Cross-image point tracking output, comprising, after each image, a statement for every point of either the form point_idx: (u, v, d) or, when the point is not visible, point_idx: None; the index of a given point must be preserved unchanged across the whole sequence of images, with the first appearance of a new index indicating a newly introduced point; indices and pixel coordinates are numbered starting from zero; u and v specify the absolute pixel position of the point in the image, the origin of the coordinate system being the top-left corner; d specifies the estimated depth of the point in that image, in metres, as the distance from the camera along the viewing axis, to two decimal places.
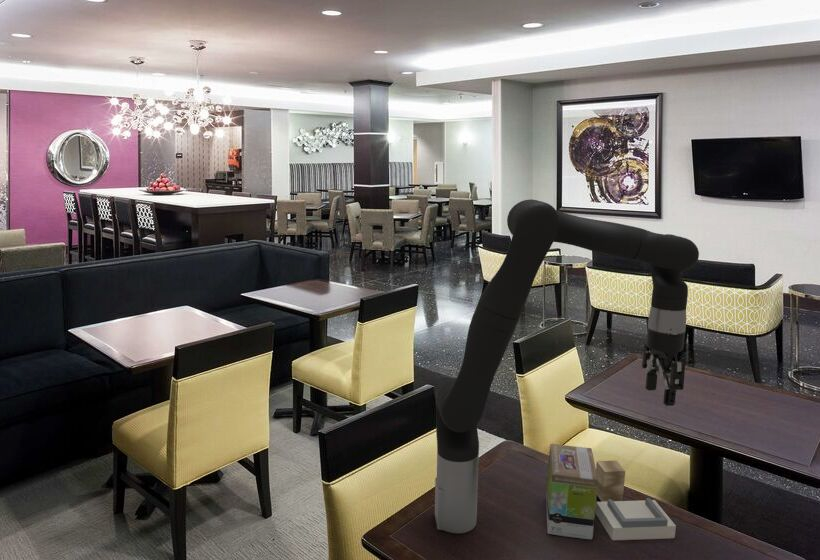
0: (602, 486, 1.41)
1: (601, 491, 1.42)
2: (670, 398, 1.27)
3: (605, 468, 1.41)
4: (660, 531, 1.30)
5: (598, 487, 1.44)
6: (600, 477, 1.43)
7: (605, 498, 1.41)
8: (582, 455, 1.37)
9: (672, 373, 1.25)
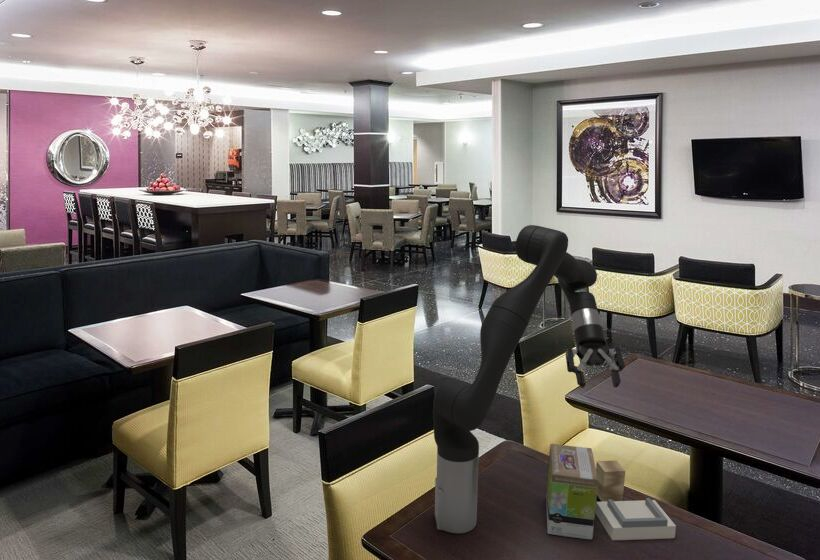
0: (602, 486, 1.41)
1: (601, 491, 1.42)
2: None
3: (605, 468, 1.41)
4: (660, 531, 1.30)
5: (598, 487, 1.44)
6: (600, 477, 1.43)
7: (605, 498, 1.41)
8: (582, 455, 1.37)
9: (619, 354, 1.54)
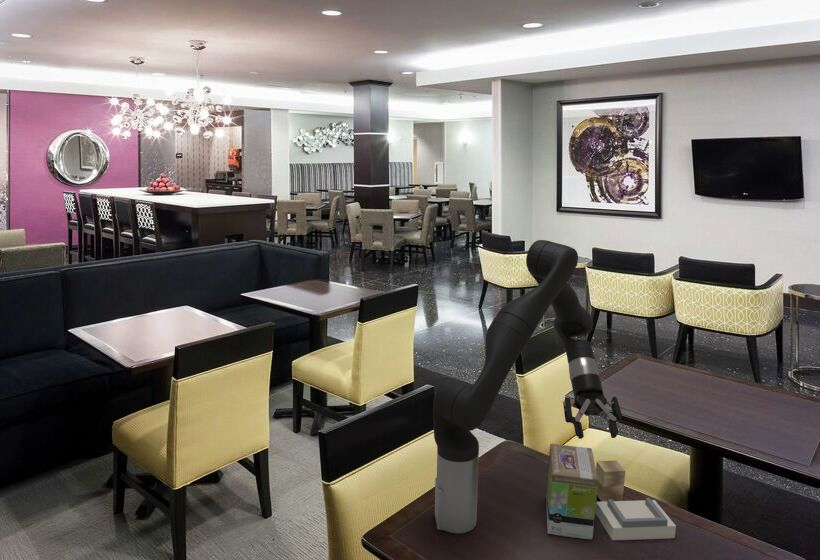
0: (602, 486, 1.41)
1: (601, 491, 1.42)
2: None
3: (605, 468, 1.41)
4: (660, 531, 1.30)
5: (598, 487, 1.44)
6: (600, 477, 1.43)
7: (605, 498, 1.41)
8: (582, 455, 1.37)
9: (617, 404, 1.54)
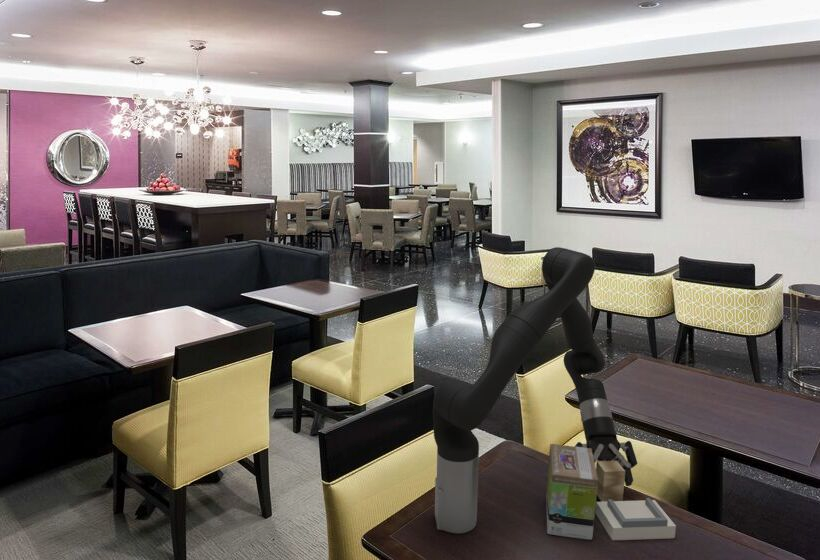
0: (602, 486, 1.41)
1: (601, 491, 1.42)
2: None
3: (605, 468, 1.41)
4: (660, 531, 1.30)
5: (598, 487, 1.44)
6: (600, 477, 1.43)
7: (605, 498, 1.41)
8: (582, 455, 1.37)
9: (631, 450, 1.46)
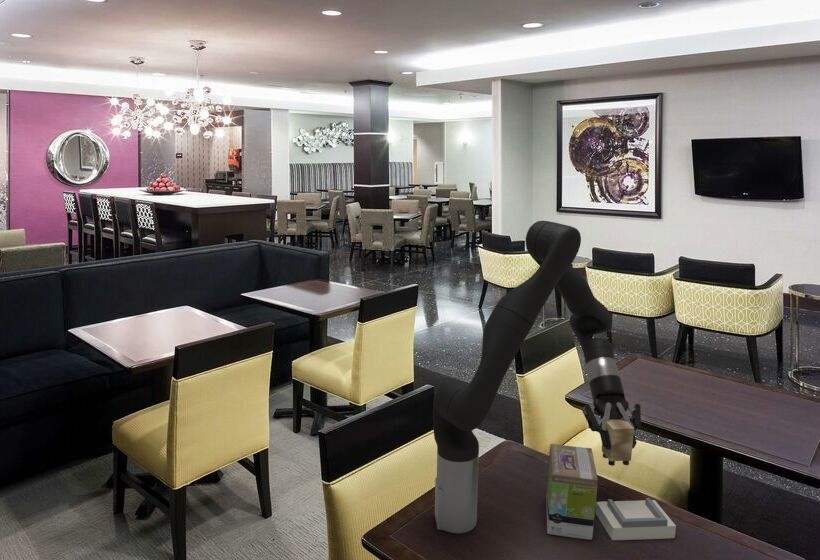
0: None
1: (609, 449, 1.38)
2: None
3: (613, 426, 1.37)
4: (660, 531, 1.30)
5: None
6: None
7: (613, 457, 1.37)
8: (582, 455, 1.37)
9: (638, 412, 1.41)
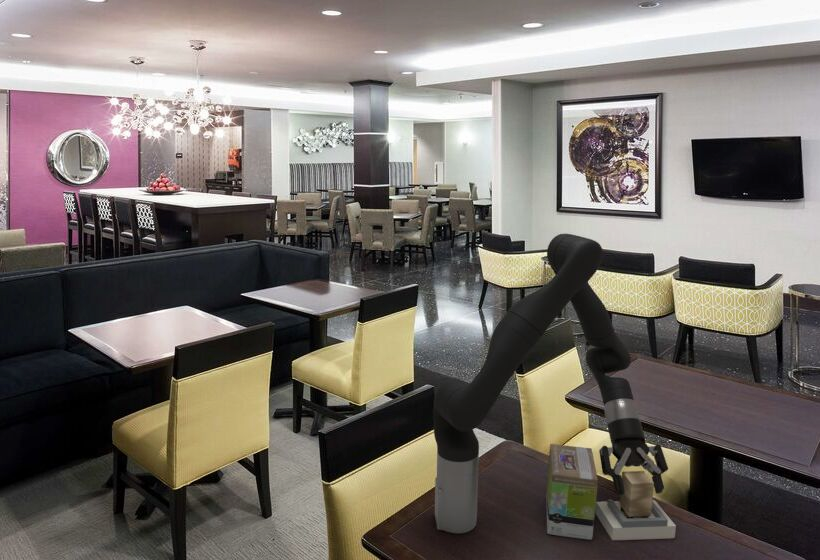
0: (629, 499, 1.31)
1: (627, 504, 1.31)
2: None
3: (632, 480, 1.31)
4: (660, 531, 1.30)
5: (624, 500, 1.33)
6: (626, 489, 1.32)
7: (632, 512, 1.31)
8: (582, 455, 1.37)
9: (661, 454, 1.35)
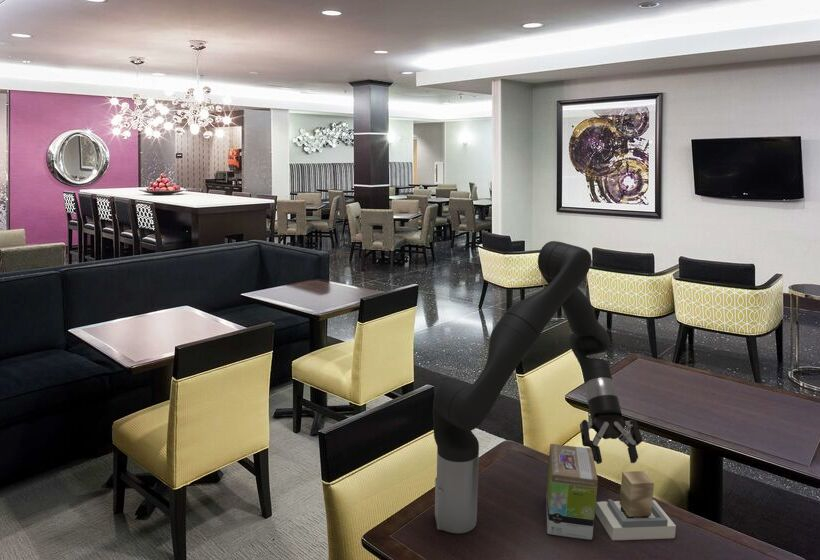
0: (629, 499, 1.31)
1: (627, 504, 1.31)
2: None
3: (632, 480, 1.31)
4: (660, 531, 1.30)
5: (624, 500, 1.33)
6: (626, 489, 1.32)
7: (632, 512, 1.31)
8: (582, 455, 1.37)
9: (636, 427, 1.48)
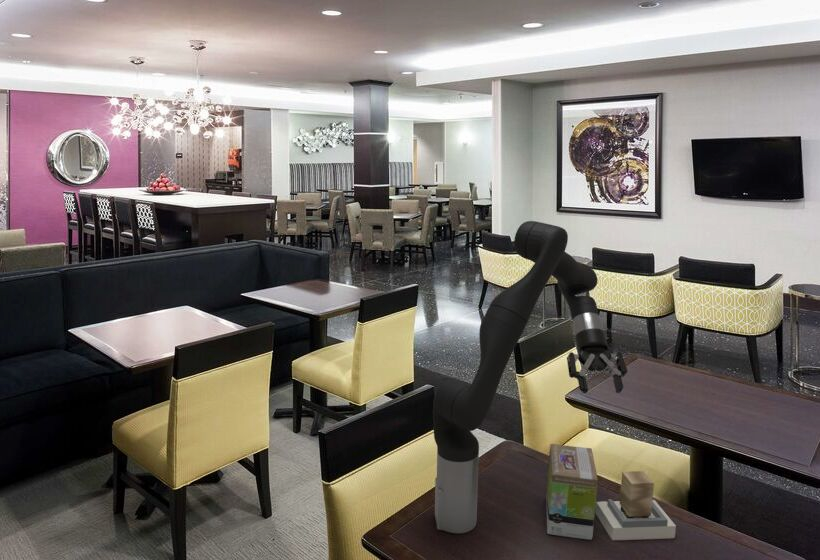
0: (629, 499, 1.31)
1: (627, 504, 1.31)
2: None
3: (632, 480, 1.31)
4: (660, 531, 1.30)
5: (624, 500, 1.33)
6: (626, 489, 1.32)
7: (632, 512, 1.31)
8: (582, 455, 1.37)
9: (622, 359, 1.51)
